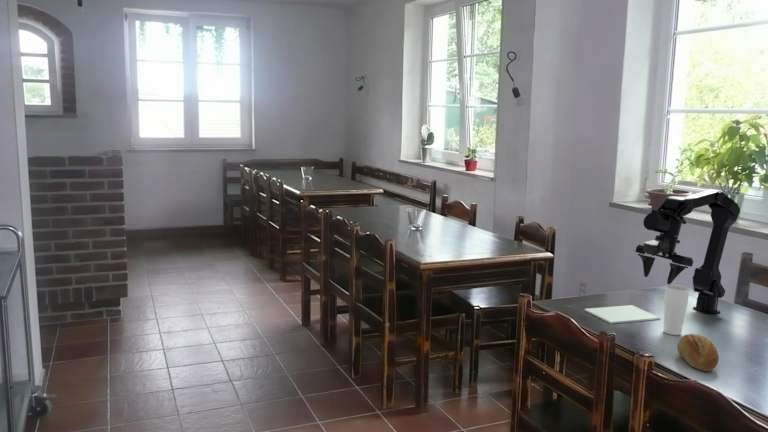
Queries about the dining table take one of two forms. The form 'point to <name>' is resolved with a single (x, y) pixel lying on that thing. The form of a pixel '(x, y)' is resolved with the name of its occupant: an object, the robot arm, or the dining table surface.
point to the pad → (621, 314)
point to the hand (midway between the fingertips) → (656, 280)
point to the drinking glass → (675, 308)
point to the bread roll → (698, 352)
